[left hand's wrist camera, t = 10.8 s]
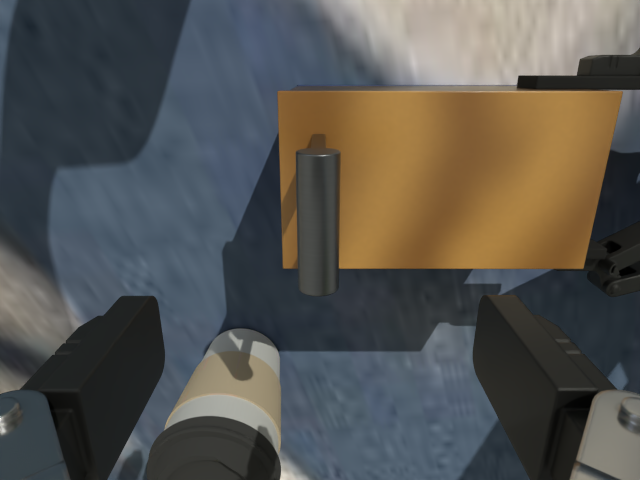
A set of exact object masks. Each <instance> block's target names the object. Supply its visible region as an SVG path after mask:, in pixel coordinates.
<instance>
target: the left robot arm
mask: <svg viewBox="0 0 640 480" xmlns="http://www.w3.org/2000/svg"><path fill="white" fill-rule="evenodd" d="M164 362H165V349H164V342H163V335H162V328H161V321H160V314H159V307H158V302H157V300H156V298H155V297H154V296H121V297H120V298H119V299H118V300H117V301H116V302H115V303H114V305H113V306H112V307H111V308H110V309H109V310H108V311H107V312H106V314H105V315H104V316H97V317H95V318H94V319H92V320H90V321H89V322H87V323H85V324H84V325H82V326H80V327H79V328H78V329H77V330H76V331H75V332H74V333H73V334H72V335H71V336H70V337H69V338H68V339H67V340H66V343H63V344H62V346H61V347H60V348H59V349H58V350H57V351H56V352H55V355H52V356H51V357H50V358H49V359H48V360H47V361H46V362H45V364H44V365H43V366H42V367H41V368H40V369H39V370H38V371H37V372H36V373H35V374H34V375H33V376H32V377H31V378H30V379H29V380H28V382H27V383H26V384H25V385H24V386H23V387H22V388H21V389H20V390H15V391H10V392H6V393H2V394H0V480H107V479H108V477H109V475H110V473H111V471H112V469H113V467H114V465H115V464H116V462H117V460H118V458H119V456H120V454H121V452H122V450H123V448H124V446H125V444H126V442H127V441H128V439H129V437H130V435H131V433H132V431H133V429H134V427H135V425H136V423H137V421H138V420H139V418H140V416H141V414H142V412H143V410H144V408H145V406H146V404H147V402H148V400H149V398H150V397H151V395H152V393H153V391H154V389H155V387H156V385H157V383H158V381H159V379H160V377H161V375H162V372H163V368H164ZM473 364H474V369H475V373H476V375H477V377H478V379H479V381H480V383H481V385H482V387H483V389H484V391H485V393H486V395H487V397H488V399H489V401H490V402H491V404H492V406H493V408H494V410H495V412H496V414H497V416H498V418H499V420H500V422H501V424H502V426H503V428H504V430H505V432H506V433H507V435H508V437H509V439H510V441H511V443H512V445H513V447H514V449H515V451H516V453H517V455H518V457H519V459H520V461H521V463H522V464H523V466H524V468H525V470H526V472H527V474H528V476H529V478H530V480H640V394H638V393H634V392H630V391H625V390H617V389H616V388H615V386H614V385H613V384H612V383H611V382H610V381H609V380H608V379H607V378H606V377H605V376H604V375H603V374H602V373H601V372H600V370H599V369H598V368H597V367H596V366H595V365H594V364H593V363H592V362H591V361H590V360H589V359H588V358H587V357H586V356H585V354H582V353H581V350H580V349H579V348H578V347H577V346H576V345H575V344H574V343H571V339H570V338H569V337H568V336H567V335H566V334H565V333H564V332H563V331H562V330H561V329H560V328H559V327H558V326H557V325H555V324H553V323H552V322H550V321H548V320H547V319H545V318H543V317H541V316H540V315H533V314H532V313H531V312H530V310H529V309H528V308H527V307H526V306H525V305H524V304H523V302H522V301H521V300H520V299H519V298H518V297H517V296H515V295H484V296H483V297H482V298H481V300H480V304H479V310H478V317H477V324H476V331H475V338H474V346H473Z"/></svg>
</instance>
